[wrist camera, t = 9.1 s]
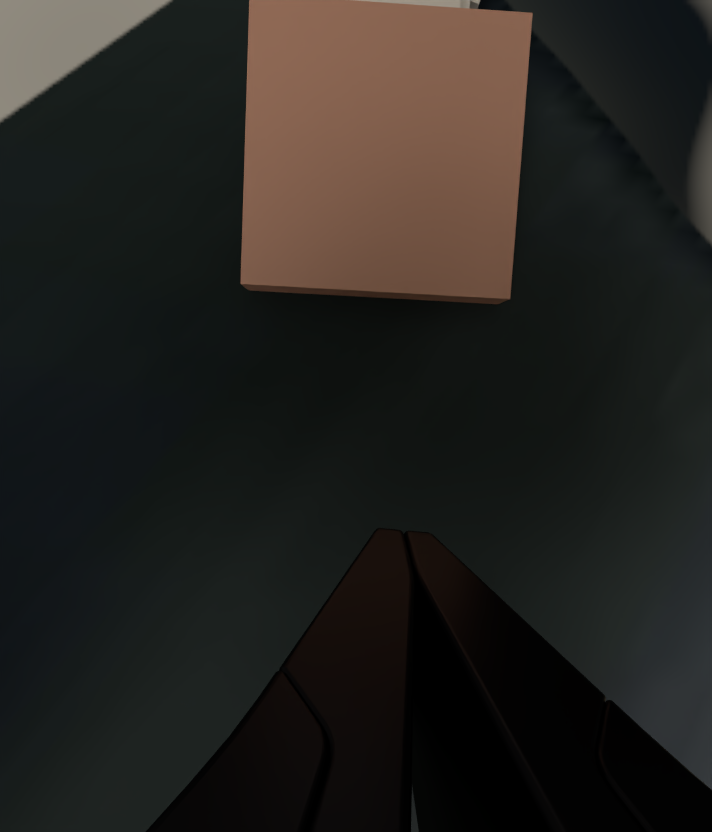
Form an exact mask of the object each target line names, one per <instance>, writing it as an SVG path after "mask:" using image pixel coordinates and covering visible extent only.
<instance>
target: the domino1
mask: <svg viewBox="0 0 712 832" xmlns="http://www.w3.org/2000/svg"><path fill="white" fill-rule="evenodd" d="M531 25H532V13H525V12H512V11H497V10H483V9H469V8H455V7H441V6H426V5H412V4H398V3H384V2H370V1H355V0H249V32H248V64H247V96H246V128H245V160H244V192H243V224H242V256H241V285H243V286H244V287H245V288H246V289H248V290H251V291H269V292H287V293H305V294H323V295H341V296H359V297H376V298H394V299H412V300H430V301H448V302H466V303H484V304H500V303H502V302H504V301H507V300H509V299H510V295H511V282H512V269H513V256H514V244H515V231H516V218H517V205H518V192H519V180H520V167H521V154H522V141H523V128H524V116H525V103H526V90H527V77H528V64H529V52H530V39H531Z"/></svg>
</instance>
